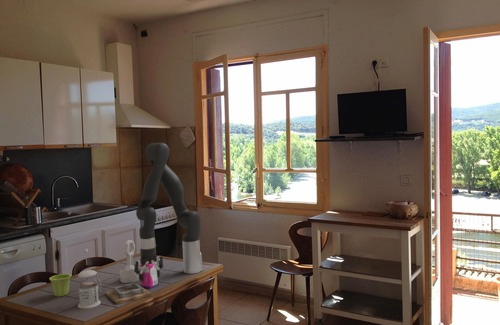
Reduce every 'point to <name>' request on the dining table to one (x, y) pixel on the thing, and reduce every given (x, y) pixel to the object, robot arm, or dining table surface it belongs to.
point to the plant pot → (60, 284)
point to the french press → (85, 298)
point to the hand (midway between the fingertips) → (149, 279)
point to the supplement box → (149, 276)
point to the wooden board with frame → (127, 293)
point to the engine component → (129, 265)
